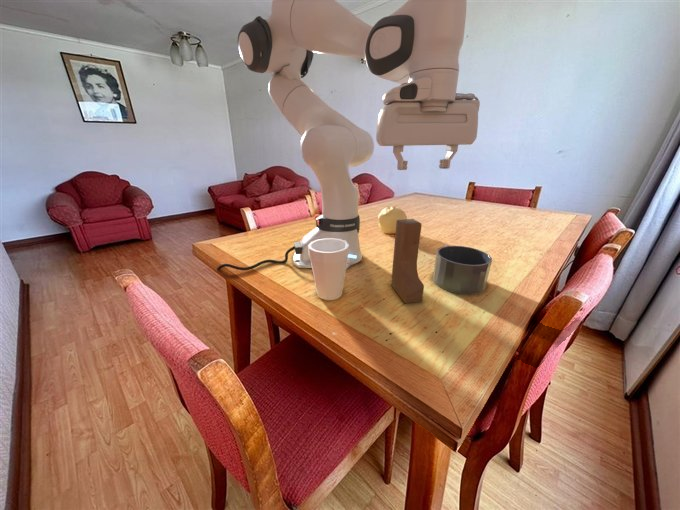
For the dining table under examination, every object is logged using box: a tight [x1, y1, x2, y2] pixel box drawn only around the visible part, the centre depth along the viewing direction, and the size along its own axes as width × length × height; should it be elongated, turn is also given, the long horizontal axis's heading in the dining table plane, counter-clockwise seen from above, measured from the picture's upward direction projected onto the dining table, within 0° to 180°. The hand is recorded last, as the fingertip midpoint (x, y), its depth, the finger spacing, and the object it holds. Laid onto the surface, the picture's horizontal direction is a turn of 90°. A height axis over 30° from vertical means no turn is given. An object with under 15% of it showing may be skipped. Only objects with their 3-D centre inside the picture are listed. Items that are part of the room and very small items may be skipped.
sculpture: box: [377, 205, 408, 234], centre depth 109 cm, size 11×12×11 cm
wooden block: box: [390, 218, 425, 304], centre depth 63 cm, size 9×4×18 cm, turn 12°
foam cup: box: [308, 238, 349, 301], centre depth 64 cm, size 10×9×13 cm
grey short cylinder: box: [432, 244, 493, 296], centre depth 71 cm, size 17×13×8 cm
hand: (423, 169), depth 55 cm, fingers open, 8 cm apart
